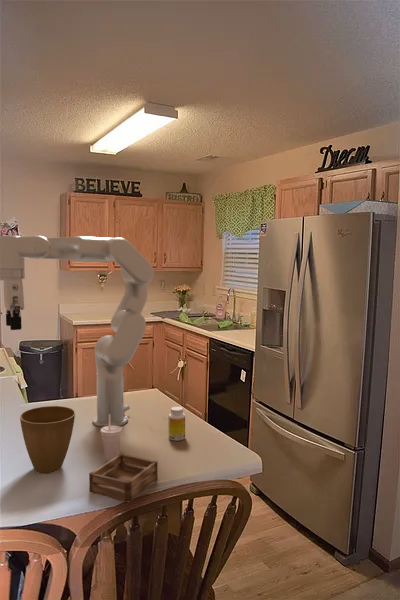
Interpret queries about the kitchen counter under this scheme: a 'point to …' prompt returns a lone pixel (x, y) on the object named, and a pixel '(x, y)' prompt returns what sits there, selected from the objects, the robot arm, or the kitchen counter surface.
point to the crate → (123, 477)
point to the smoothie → (111, 440)
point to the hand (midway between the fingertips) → (13, 327)
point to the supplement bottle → (176, 424)
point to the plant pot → (47, 436)
